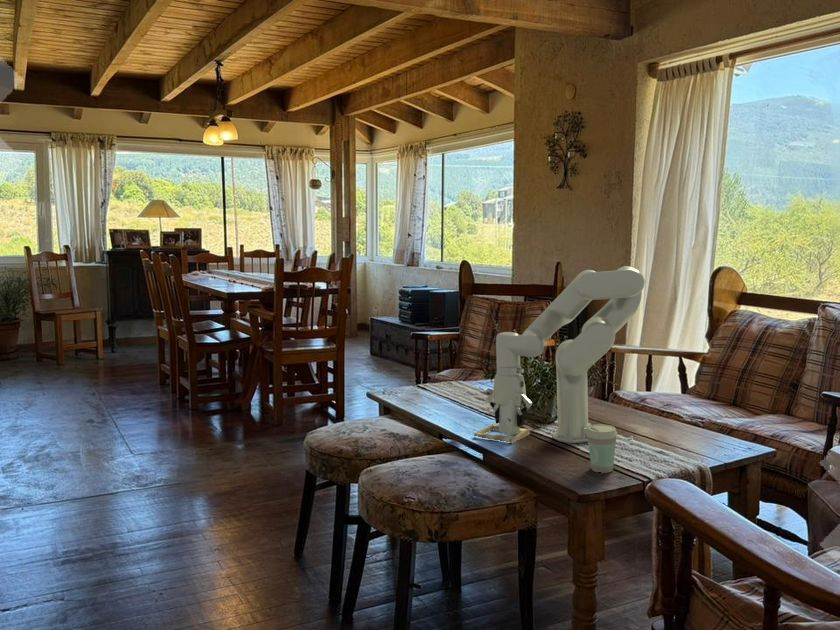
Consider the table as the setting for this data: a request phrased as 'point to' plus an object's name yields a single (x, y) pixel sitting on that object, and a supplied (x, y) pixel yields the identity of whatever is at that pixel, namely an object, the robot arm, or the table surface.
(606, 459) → the coffee cup
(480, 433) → the gold picture frame
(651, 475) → the table surface
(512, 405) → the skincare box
